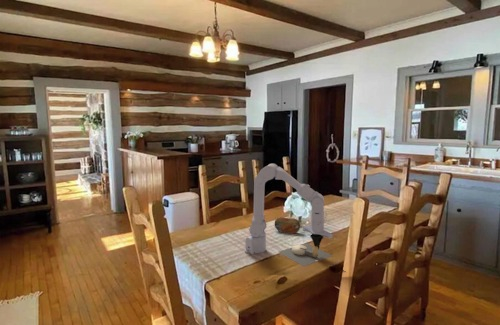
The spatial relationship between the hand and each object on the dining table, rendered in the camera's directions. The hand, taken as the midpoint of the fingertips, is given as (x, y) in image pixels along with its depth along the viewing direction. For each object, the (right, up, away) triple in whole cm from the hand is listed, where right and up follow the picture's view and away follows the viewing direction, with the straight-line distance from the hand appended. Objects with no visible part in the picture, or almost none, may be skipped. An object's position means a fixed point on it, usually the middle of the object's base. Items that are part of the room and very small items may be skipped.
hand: (317, 249), depth 139 cm
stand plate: (-5, -4, +2) cm, 7 cm away
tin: (-9, 0, +36) cm, 37 cm away
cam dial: (-5, -3, +2) cm, 6 cm away
